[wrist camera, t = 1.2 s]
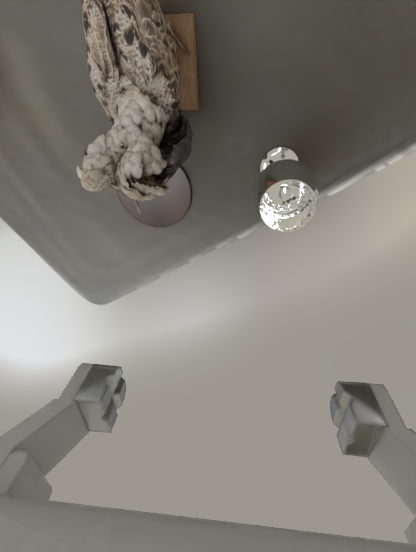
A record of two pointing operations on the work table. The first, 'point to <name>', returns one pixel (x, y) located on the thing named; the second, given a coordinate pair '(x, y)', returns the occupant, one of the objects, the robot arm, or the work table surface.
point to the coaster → (163, 203)
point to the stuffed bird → (139, 95)
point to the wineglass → (285, 191)
